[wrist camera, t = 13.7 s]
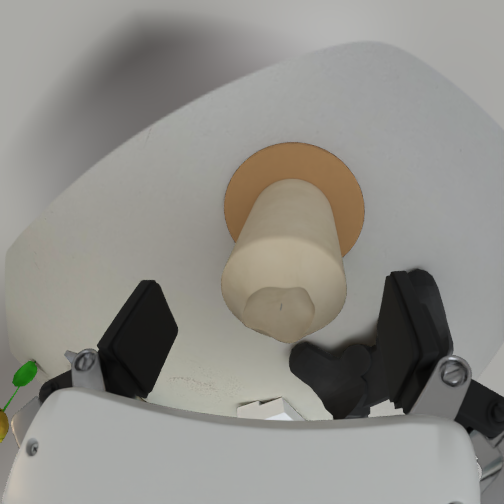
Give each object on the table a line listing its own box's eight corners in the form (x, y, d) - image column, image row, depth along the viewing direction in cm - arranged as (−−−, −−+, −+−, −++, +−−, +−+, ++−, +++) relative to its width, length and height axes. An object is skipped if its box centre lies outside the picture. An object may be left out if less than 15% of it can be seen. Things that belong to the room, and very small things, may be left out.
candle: (339, 240, 19) (356, 350, 11) (268, 256, 21) (241, 364, 13) (320, 168, 17) (337, 242, 8) (242, 190, 19) (187, 275, 10)
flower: (48, 375, 56) (5, 448, 31) (30, 360, 55) (-15, 430, 30) (41, 362, 51) (-8, 441, 26) (22, 346, 51) (-28, 420, 25)
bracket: (314, 425, 39) (322, 461, 32) (277, 437, 40) (281, 473, 33) (281, 392, 34) (288, 437, 27) (237, 407, 35) (238, 451, 28)
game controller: (318, 353, 31) (340, 429, 24) (280, 350, 27) (304, 442, 20) (436, 278, 23) (477, 364, 16) (421, 258, 19) (476, 368, 12)
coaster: (215, 151, 18) (211, 153, 18) (360, 138, 16) (363, 140, 15) (239, 270, 23) (237, 275, 22) (359, 266, 21) (361, 271, 20)
